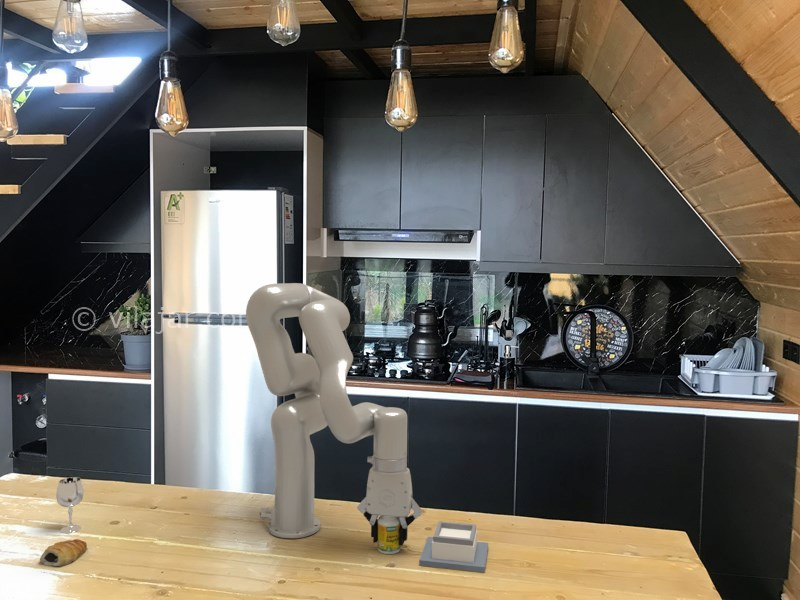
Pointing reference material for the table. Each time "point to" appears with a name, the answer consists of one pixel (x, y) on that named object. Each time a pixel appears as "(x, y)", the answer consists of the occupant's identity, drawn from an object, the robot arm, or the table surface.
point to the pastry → (63, 552)
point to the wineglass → (70, 499)
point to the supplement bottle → (388, 534)
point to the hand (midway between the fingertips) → (389, 540)
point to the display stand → (455, 548)
